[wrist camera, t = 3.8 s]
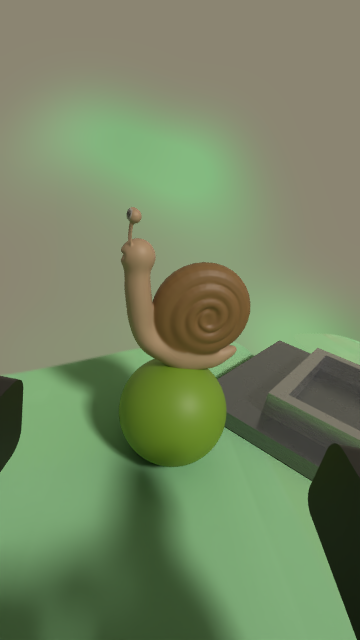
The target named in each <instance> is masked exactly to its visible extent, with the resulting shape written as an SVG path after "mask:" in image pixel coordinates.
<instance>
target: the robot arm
mask: <svg viewBox="0 0 360 640" xmlns="http://www.w3.org/2000/svg"><path fill="white" fill-rule="evenodd" d="M22 404H23V383H22V381H21V380H18V379H13V378H8V377H3V376H0V472H1V470H2V469H3V467H4V466H5V465H6V463H7V462H8V460H9V459H10V457H11V456H12V454H13V453H14V451H15V449H16V446H17V444H18V441H19V438H20V434H21V425H22ZM308 506H309V511H310V514H311V517H312V520H313V522H314V525H315V528H316V530H317V533H318V536H319V539H320V541H321V544H322V547H323V549H324V552H325V555H326V557H327V560H328V563H329V565H330V568H331V571H332V574H333V576H334V579H335V582H336V584H337V587H338V590H339V592H340V595H341V598H342V601H343V603H344V606H345V609H346V611H347V614H348V617H349V619H350V622H351V625H352V628H353V630H354V633H355V636H356V638H357V640H360V448H356V447H351V446H346V445H341V444H336V443H333V444H331V445H330V446H329V447H328V449H327V451H326V453H325V455H324V457H323V459H322V461H321V464H320V466H319V468H318V470H317V472H316V474H315V477H314V479H313V481H312V483H311V485H310V488H309V493H308Z"/></svg>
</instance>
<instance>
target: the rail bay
mask: <svg viewBox="0 0 360 640" xmlns="http://www.w3.org/2000/svg"><path fill="white" fill-rule="evenodd" d="M217 380H218V382H219V384H220V386H221V388H222V390H223V393H224V396H225V401H226V421H225V427H226V428H228V429H230V430H231V431H233V432H235V433H236V434H238V435H239V436H241V437H243V438H244V439H246V440H247V441H249V442H251V443H252V444H254V445H255V446H257V447H259V448H260V449H262V450H264V451H265V452H267V453H268V454H270V455H272V456H273V457H275V458H276V459H278V460H280V461H281V462H283V463H285V464H286V465H288V466H289V467H291V468H293V469H294V470H296V471H297V472H299V473H301V474H302V475H304V476H305V477H307V478H309V479H310V480H312V481H313V479H314V477H315V474H316V472H317V470H318V468H319V466H320V464H321V461H322V459H323V457H324V455H325V453H326V451H327V449H328V447H329V446H330V445H331V444H333V443H336V444H341V445H346V446H351V447H356V448H360V365H358V364H355V363H353V362H351V361H348V360H346V359H343V358H341V357H338V356H336V355H334V354H331V353H329V352H326V351H324V350H321V349H319V348H317V349H316V350H315V351H314V352H313V353H312V354H310V353H308V352H305V351H303V350H301V349H298V348H296V347H294V346H291V345H289V344H286V343H284V342H282V341H278V342H276V343H275V344H273V345H272V346H270V347H268V348H267V349H265V350H263V351H262V352H260V353H259V354H257V355H255V356H254V357H252V358H251V359H249V360H247V361H246V362H244V363H243V364H241V365H239V366H238V367H236V368H235V369H233V370H231V371H230V372H228V373H227V374H225V375H223V376H222V377H220V378H219V379H217Z"/></svg>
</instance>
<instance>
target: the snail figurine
mask: <svg viewBox="0 0 360 640" xmlns="http://www.w3.org/2000/svg"><path fill="white" fill-rule="evenodd" d="M127 219H128V220H129V221H130V224H129V233H128V241H127V242H126V243H125V244H124V245H123V247H122V249H121V252H122V253H123V257H122V259H121V262H122V265H123V268H124V273H125V297H126V307H127V315H128V320H129V324H130V327H131V331H132V333H133V336H134V338H135V340H136V342H137V344H138V345H139V346H140V348H141V349H142V350H143V351H144V352H146V353H147V354H148V355H150V356H151V357H153V358H155V359H153V360H151V361H149V362H147V363H145V364H144V365H142V366H141V367H140V368H138V369H137V370H136V371H135V372H134V373H133V375H132V376H131V377H130V378H129V380H128V381H127V383H126V385H125V387H124V389H123V392H122V395H121V398H120V404H119V419H120V425H121V428H122V431H123V434H124V436H125V438H126V440H127V442H128V443H129V445H130V446H131V447H132V448H133V449H134V451H135V452H136V453H138V454H139V455H140V456H141V457H143V458H144V459H146V460H147V461H149V462H152V463H154V464H157V465H161V466H166V467H178V466H184V465H188V464H191V463H193V462H195V461H197V460H199V459H201V458H202V457H204V456H205V455H206V454H207V453H208V452H210V451H211V449H212V448H213V447H214V446H215V445H216V443H217V442H218V440H219V438H220V436H221V434H222V432H223V429H224V426H225V421H226V401H225V396H224V393H223V390H222V388H221V386H220V384H219V382H218V380H217V379H216V377H215V376H214V375H213V374H212V372H211V371H210V370H209V369H207V368H213V367H215V366H218V365H220V364H221V363H223V362H224V361H226V360H227V359H229V358H230V357H231V356H232V355H233V354H234V353H235V352H236V347H235V346H232V345H229V344H231V343H232V342H233V341H235V340H236V339H237V338H238V337H239V335H240V334H241V333H242V331H243V330H244V328H245V326H246V323H247V321H248V318H249V314H250V298H249V293H248V291H247V288H246V286H245V284H244V283H243V281H242V280H241V278H240V277H239V276H238V275H237V274H236V273H234V272H233V271H232V270H230V269H228V268H227V267H225V266H222V265H219V264H215V263H206V262H202V263H194V264H190V265H187V266H184V267H182V268H180V269H178V270H177V271H175V272H173V273H172V274H171V275H170V276H169V277H167V278H166V279H165V281H164V282H163V283H162V284H161V286H160V287H159V289H158V290H157V292H156V294H155V297H154V299H153V302H152V296H151V284H150V273H151V269H152V267H153V265H154V262H155V251H154V249H153V247H152V245H151V244H150V243H148V242H147V241H146V240H143V239H139V238H136V239H132V228H133V225H134V224H135V223H138V222H139V221H140V220H141V213H140V211H139V210H138V209H136V208H134V207H131V208H129V209H128V211H127ZM130 229H131V230H130Z"/></svg>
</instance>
